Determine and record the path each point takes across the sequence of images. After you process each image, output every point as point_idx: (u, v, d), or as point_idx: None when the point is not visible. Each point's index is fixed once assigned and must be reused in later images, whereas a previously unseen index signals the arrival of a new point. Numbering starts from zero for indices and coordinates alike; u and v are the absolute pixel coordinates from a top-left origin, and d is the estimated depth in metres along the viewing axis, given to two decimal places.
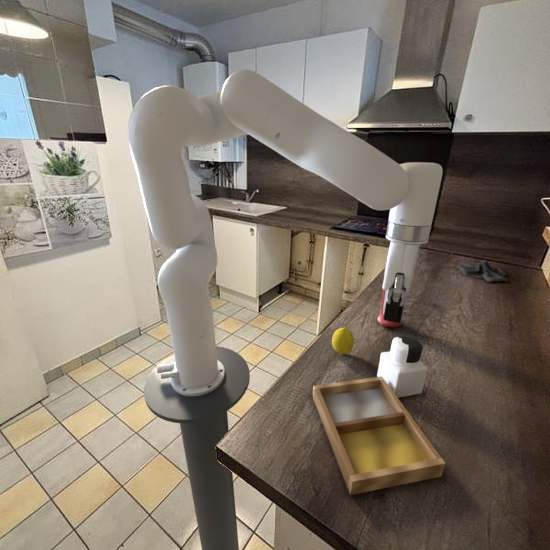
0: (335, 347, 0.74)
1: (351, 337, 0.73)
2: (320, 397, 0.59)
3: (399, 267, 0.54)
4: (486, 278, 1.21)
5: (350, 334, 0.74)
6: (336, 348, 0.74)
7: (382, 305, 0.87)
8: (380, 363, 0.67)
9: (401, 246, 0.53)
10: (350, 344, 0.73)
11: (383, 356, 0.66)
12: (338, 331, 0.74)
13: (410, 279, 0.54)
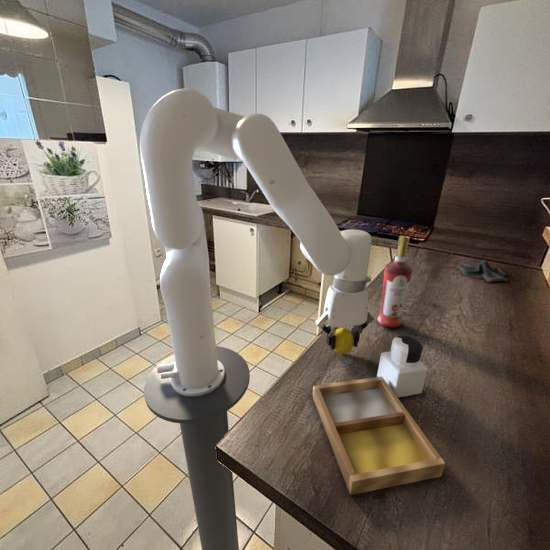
0: (335, 347, 0.74)
1: (351, 337, 0.73)
2: (320, 397, 0.59)
3: (327, 304, 0.71)
4: (486, 278, 1.21)
5: (350, 334, 0.74)
6: (336, 348, 0.74)
7: (382, 305, 0.87)
8: (380, 363, 0.67)
9: (329, 289, 0.70)
10: (350, 344, 0.73)
11: (383, 356, 0.66)
12: (338, 331, 0.74)
13: (330, 316, 0.70)
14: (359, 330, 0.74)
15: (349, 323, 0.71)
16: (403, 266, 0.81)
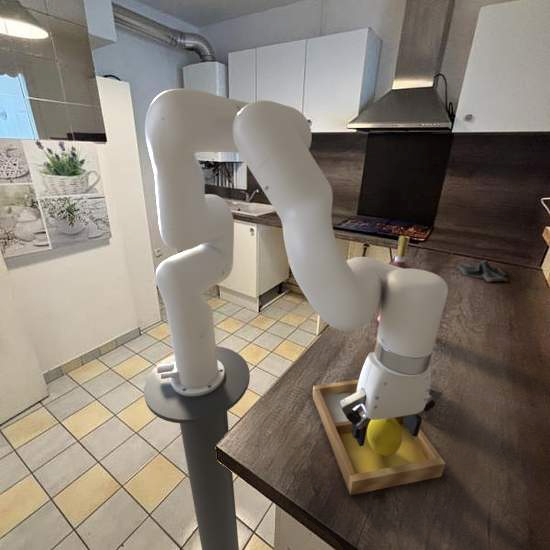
0: (373, 446, 0.48)
1: (399, 433, 0.47)
2: (320, 397, 0.59)
3: (364, 383, 0.44)
4: (486, 278, 1.21)
5: (397, 428, 0.47)
6: (375, 448, 0.48)
7: None
8: None
9: (369, 361, 0.43)
10: (398, 444, 0.47)
11: None
12: (378, 422, 0.48)
13: (370, 405, 0.43)
14: (422, 414, 0.47)
15: (399, 414, 0.45)
16: (403, 266, 0.81)
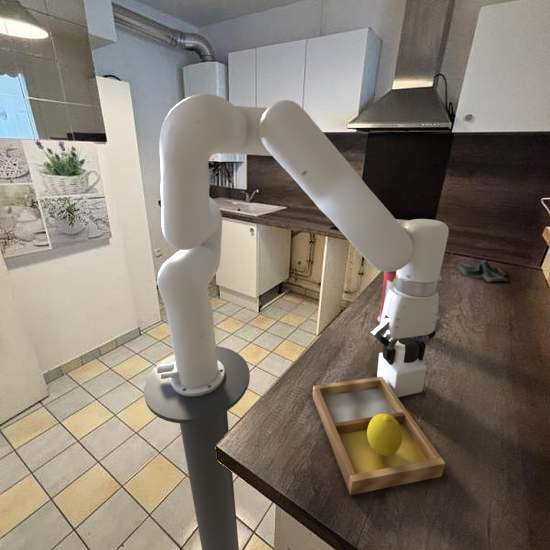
0: (373, 446, 0.48)
1: (399, 433, 0.47)
2: (320, 397, 0.59)
3: (387, 311, 0.58)
4: (486, 278, 1.21)
5: (397, 428, 0.47)
6: (375, 448, 0.48)
7: (382, 305, 0.87)
8: (379, 363, 0.67)
9: (391, 293, 0.57)
10: (398, 445, 0.47)
11: (381, 356, 0.66)
12: (378, 422, 0.48)
13: (393, 326, 0.57)
14: (426, 340, 0.61)
15: (414, 333, 0.59)
16: None
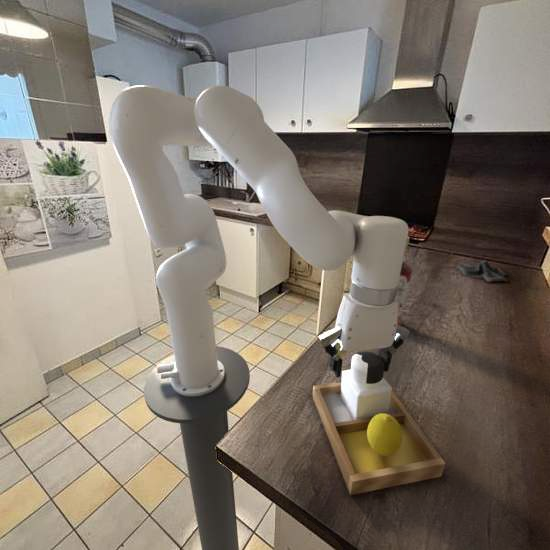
0: (373, 446, 0.48)
1: (399, 433, 0.47)
2: (320, 397, 0.59)
3: (340, 319, 0.51)
4: (486, 278, 1.21)
5: (397, 428, 0.47)
6: (375, 448, 0.48)
7: None
8: (342, 382, 0.60)
9: (344, 299, 0.50)
10: (398, 445, 0.47)
11: (344, 375, 0.59)
12: (378, 422, 0.48)
13: (345, 336, 0.50)
14: (391, 350, 0.54)
15: (370, 346, 0.52)
16: (403, 266, 0.81)
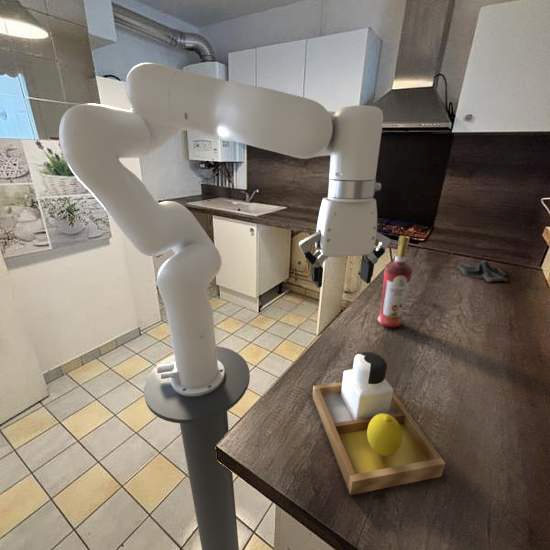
0: (373, 446, 0.48)
1: (399, 433, 0.47)
2: (320, 397, 0.59)
3: (319, 224, 0.51)
4: (486, 278, 1.21)
5: (397, 428, 0.47)
6: (375, 448, 0.48)
7: (382, 305, 0.87)
8: (343, 382, 0.60)
9: (323, 201, 0.50)
10: (398, 445, 0.47)
11: (345, 375, 0.59)
12: (378, 422, 0.48)
13: (324, 239, 0.50)
14: (373, 259, 0.54)
15: (350, 251, 0.51)
16: (403, 266, 0.81)
